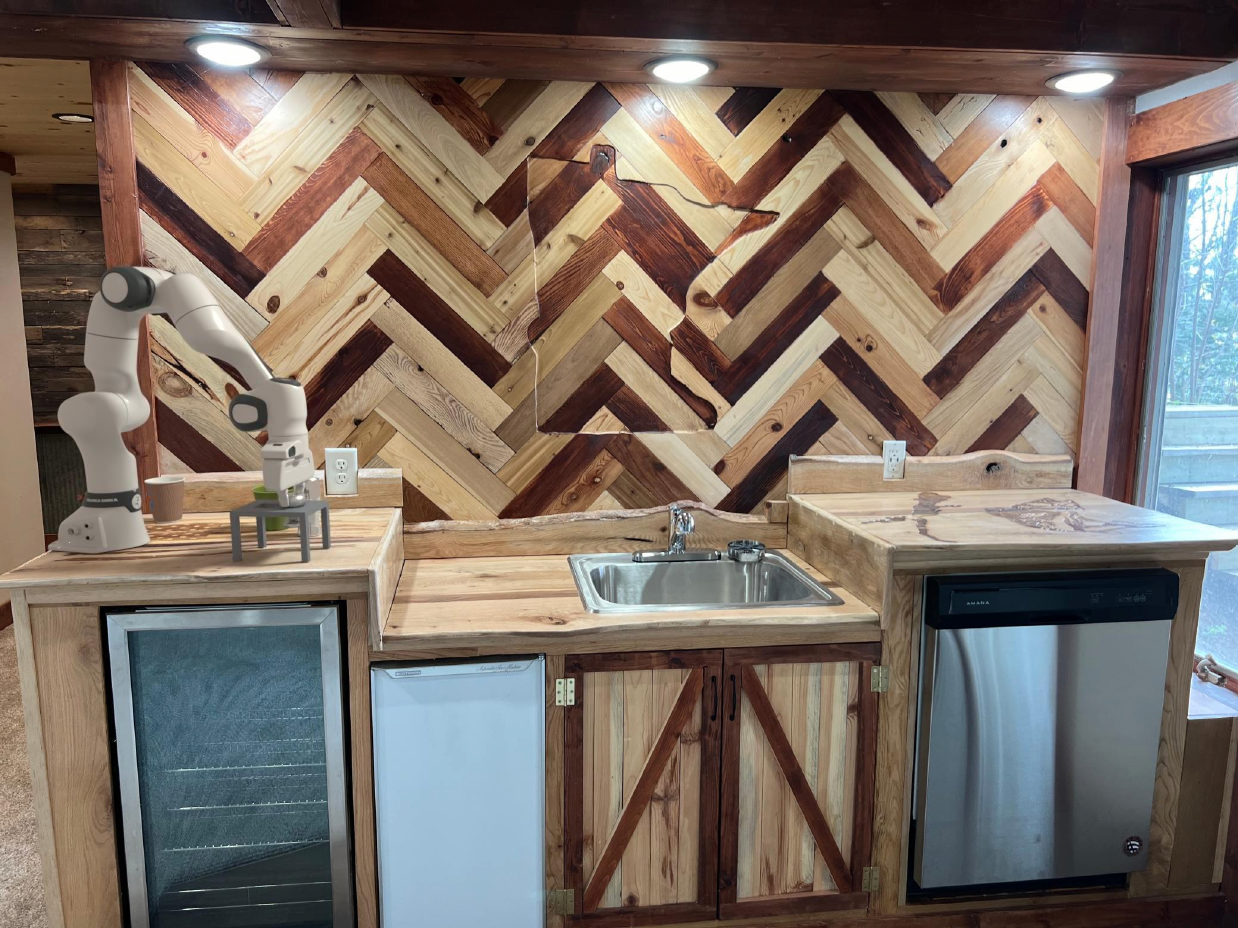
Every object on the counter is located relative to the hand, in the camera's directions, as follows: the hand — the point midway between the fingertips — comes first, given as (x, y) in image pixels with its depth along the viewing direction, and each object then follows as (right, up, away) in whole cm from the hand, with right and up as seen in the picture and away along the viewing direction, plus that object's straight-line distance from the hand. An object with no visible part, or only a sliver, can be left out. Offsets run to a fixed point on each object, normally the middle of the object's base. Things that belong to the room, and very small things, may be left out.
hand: (292, 503), depth 204 cm
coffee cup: (-50, -7, +38) cm, 63 cm away
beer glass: (-4, -10, +22) cm, 24 cm away
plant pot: (-16, -8, +29) cm, 34 cm away
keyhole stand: (-3, -13, +2) cm, 13 cm away
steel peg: (0, -6, +1) cm, 6 cm away
